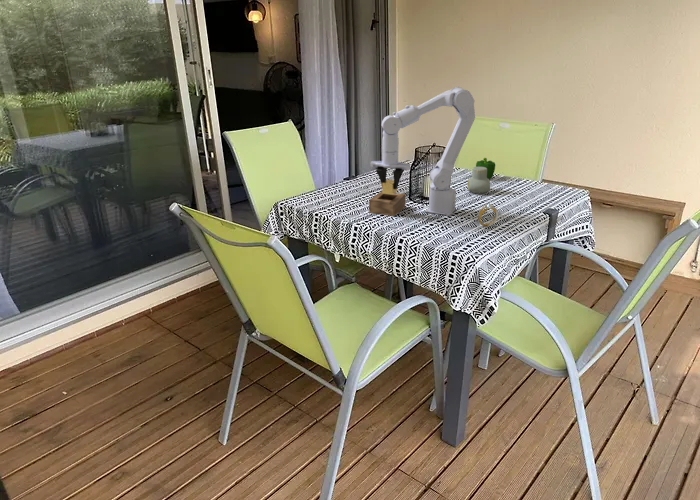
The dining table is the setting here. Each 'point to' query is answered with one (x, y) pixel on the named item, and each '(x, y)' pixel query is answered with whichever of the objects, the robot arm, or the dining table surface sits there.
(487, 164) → the bell pepper
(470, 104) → the robot arm
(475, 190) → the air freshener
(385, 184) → the yellow cube
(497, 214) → the bracelet
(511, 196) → the dining table surface
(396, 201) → the wooden box
